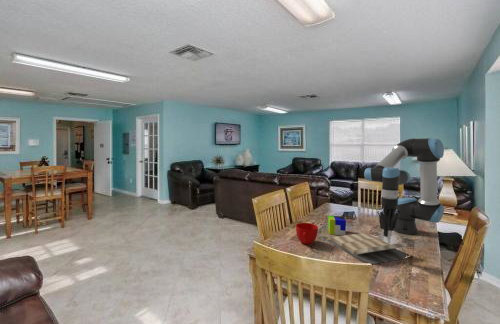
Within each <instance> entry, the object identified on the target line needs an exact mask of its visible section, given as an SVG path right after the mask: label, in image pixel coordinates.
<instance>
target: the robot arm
mask: <svg viewBox="0 0 500 324" xmlns="http://www.w3.org/2000/svg"><path fill="white" fill-rule="evenodd" d="M444 153H445V148H444V144H443V141H442V140H441V139H439V138H432V137H430V138H428V137H427V138H407V139H405V140H402V141H400V142H398V143H397V144H395V146H393V147H392V148H391V151H390V152H389V153H388V154H387V155H386V156H385V157H383V159H381V160H380V161H379V162H378V163H377V164H376V165H375V166H374V167H367V168H365V170H364V174H363V175H364V179H365V180H366V181H370V182H376V183H382V184H381V195H380V196H381V198H380V200H381V201H380V204H381V209H380V210H378V211H376V213H377V215H378V219H379V226H380V229H381V230H383V241H384V242H386V243H388V244H391V236H392V232H396V233H399V234H403V235H411V236H412V234H414V235H417V234H419V233H418V231H419V230H418V227H417V223H416V219H417V220H421V221H424V222H425V221H426V222H429V223H434V224H437V223H439V222H441V220H442V218H443V216H444V214H445V213H444V212H445V207H444V205H442V204H441V201H440V200H439V199H438V173H437V172H438V170H437V169H438V167H437V166H438V162H440V160H441V158H443V157H444ZM409 157H413V158H416V161H417V162H418V163H419V171H420V173H419V174H420V175H419V178H420V180H419V181H420V182H419V184H420V198H419V199H417V198H416V197H399V190H400V189H399V188H400V187H399V186H401V185H405V184H407V183H409V182H410V180H411V175H410V173H409V172H408V170H402V169H400V168H398V167H395V166H396V165H398V164H399V163H400V162H401V161H402V160H404V159H406V158H409Z"/></svg>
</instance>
